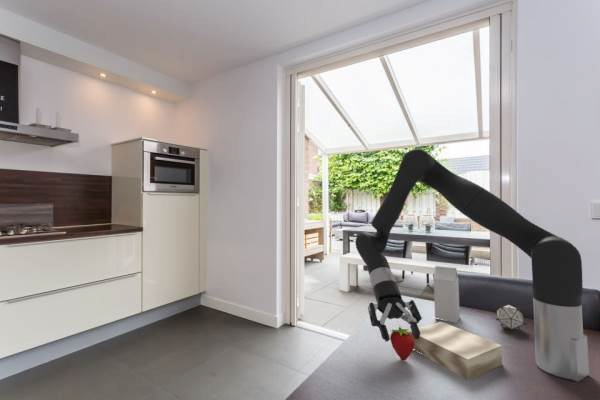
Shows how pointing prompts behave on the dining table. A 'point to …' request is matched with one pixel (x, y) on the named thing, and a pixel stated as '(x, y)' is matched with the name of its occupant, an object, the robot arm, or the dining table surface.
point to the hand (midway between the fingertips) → (402, 339)
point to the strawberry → (402, 343)
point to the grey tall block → (446, 294)
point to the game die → (510, 316)
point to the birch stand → (458, 349)
